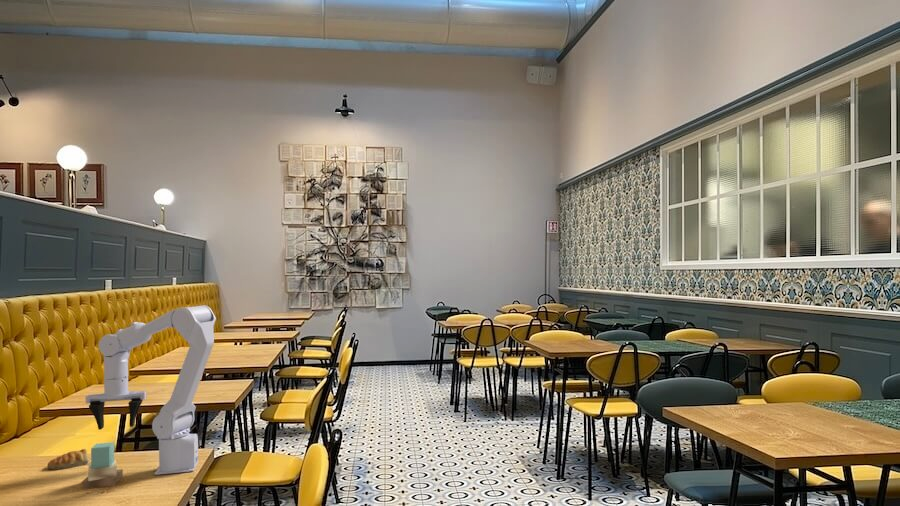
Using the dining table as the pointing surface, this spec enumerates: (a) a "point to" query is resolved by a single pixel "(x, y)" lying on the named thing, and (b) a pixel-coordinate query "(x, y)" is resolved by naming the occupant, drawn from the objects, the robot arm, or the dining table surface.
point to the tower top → (102, 472)
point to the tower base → (102, 481)
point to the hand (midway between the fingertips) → (116, 427)
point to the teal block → (102, 455)
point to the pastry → (69, 460)
